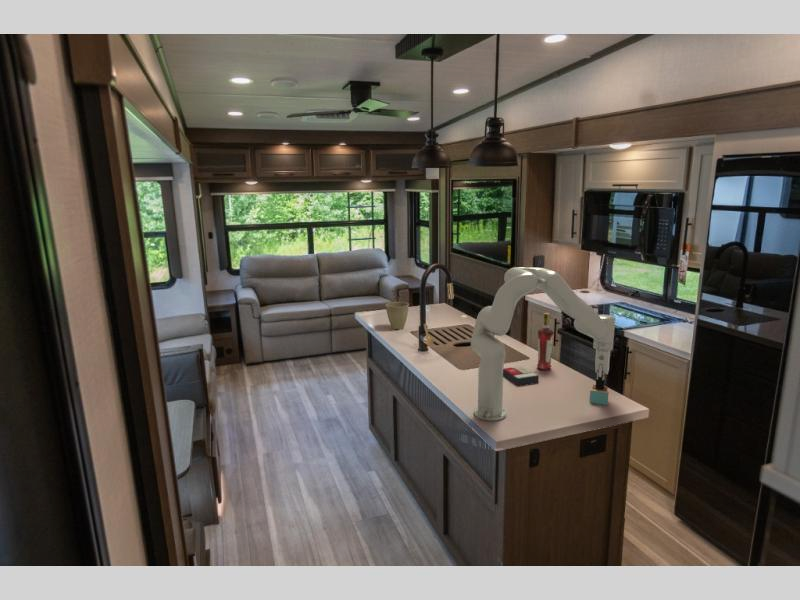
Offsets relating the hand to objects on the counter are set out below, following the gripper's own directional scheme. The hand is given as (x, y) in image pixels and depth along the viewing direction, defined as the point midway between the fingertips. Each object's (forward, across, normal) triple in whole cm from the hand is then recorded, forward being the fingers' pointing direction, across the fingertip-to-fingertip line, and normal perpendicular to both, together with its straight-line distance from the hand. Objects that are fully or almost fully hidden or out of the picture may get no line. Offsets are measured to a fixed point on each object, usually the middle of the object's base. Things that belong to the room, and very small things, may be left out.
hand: (600, 386), depth 210 cm
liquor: (+6, +29, +28) cm, 40 cm away
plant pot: (+6, +66, +126) cm, 143 cm away
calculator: (+7, +11, +36) cm, 38 cm away
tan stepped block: (+3, 0, 0) cm, 3 cm away
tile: (+6, -4, 0) cm, 7 cm away
